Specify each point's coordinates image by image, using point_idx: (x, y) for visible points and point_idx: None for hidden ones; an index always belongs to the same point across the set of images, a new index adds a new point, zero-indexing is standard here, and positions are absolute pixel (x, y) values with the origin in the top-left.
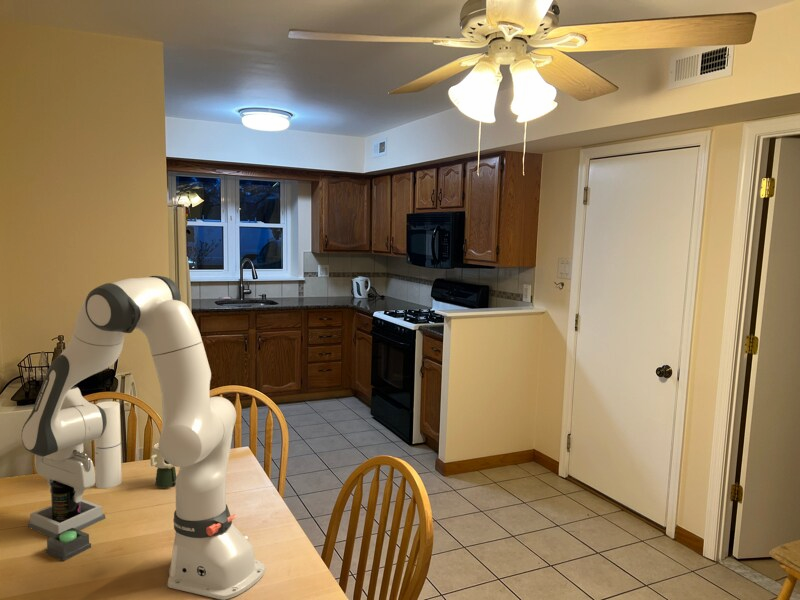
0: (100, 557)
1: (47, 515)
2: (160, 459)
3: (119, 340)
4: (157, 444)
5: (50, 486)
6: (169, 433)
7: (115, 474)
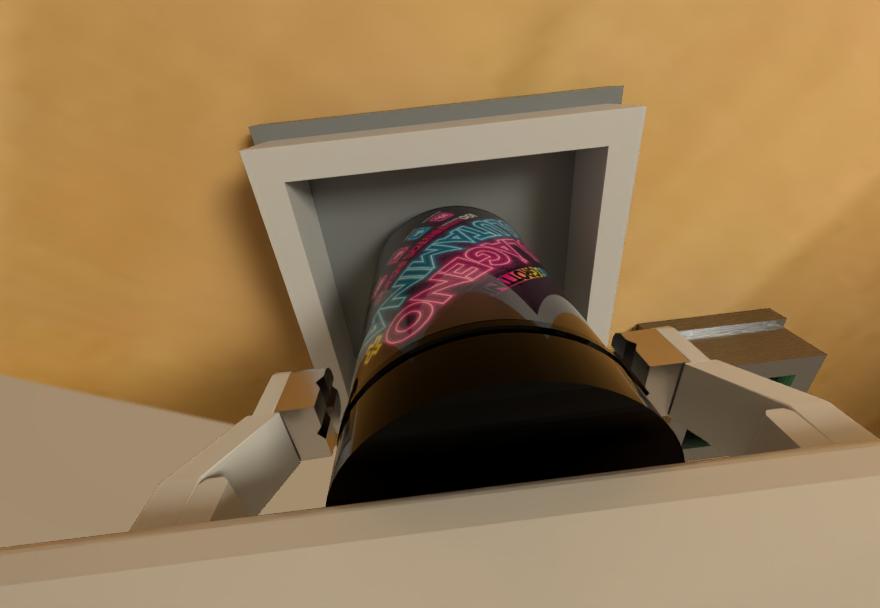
0: (862, 321)
1: (345, 337)
2: None
3: None
4: None
5: (285, 476)
6: None
7: None
